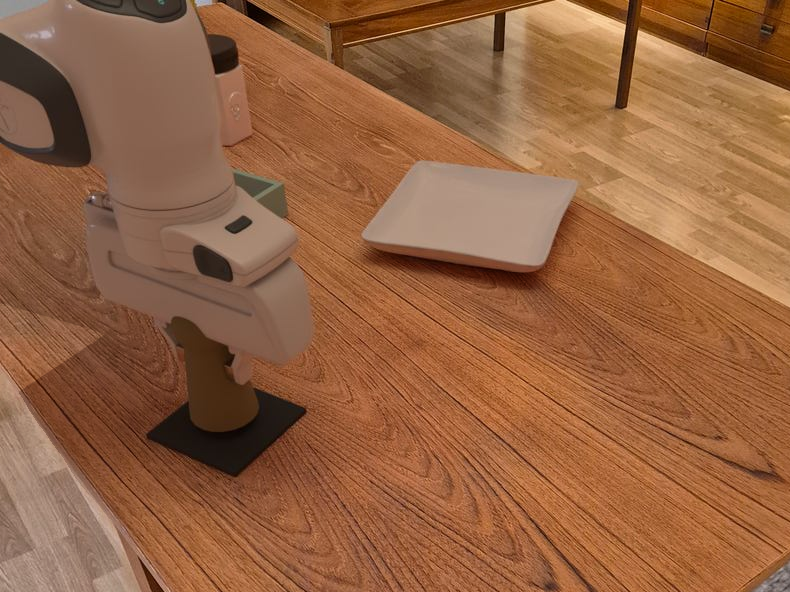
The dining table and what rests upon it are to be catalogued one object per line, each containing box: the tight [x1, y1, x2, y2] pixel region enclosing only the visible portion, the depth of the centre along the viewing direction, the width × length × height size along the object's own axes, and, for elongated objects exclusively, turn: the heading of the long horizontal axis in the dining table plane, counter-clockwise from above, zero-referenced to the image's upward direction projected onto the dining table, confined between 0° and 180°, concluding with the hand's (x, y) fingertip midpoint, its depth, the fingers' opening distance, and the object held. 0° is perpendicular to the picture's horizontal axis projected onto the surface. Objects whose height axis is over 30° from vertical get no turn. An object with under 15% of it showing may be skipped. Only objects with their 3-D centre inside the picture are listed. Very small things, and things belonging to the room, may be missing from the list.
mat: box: [145, 386, 307, 478], centre depth 80 cm, size 10×10×1 cm
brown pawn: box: [171, 316, 259, 432], centre depth 75 cm, size 6×6×11 cm
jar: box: [207, 33, 254, 147], centre depth 120 cm, size 9×8×12 cm
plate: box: [360, 159, 580, 273], centre depth 105 cm, size 21×21×3 cm
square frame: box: [232, 167, 289, 219], centre depth 105 cm, size 15×15×4 cm
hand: (214, 368), depth 76 cm, fingers closed on brown pawn, 4 cm apart
